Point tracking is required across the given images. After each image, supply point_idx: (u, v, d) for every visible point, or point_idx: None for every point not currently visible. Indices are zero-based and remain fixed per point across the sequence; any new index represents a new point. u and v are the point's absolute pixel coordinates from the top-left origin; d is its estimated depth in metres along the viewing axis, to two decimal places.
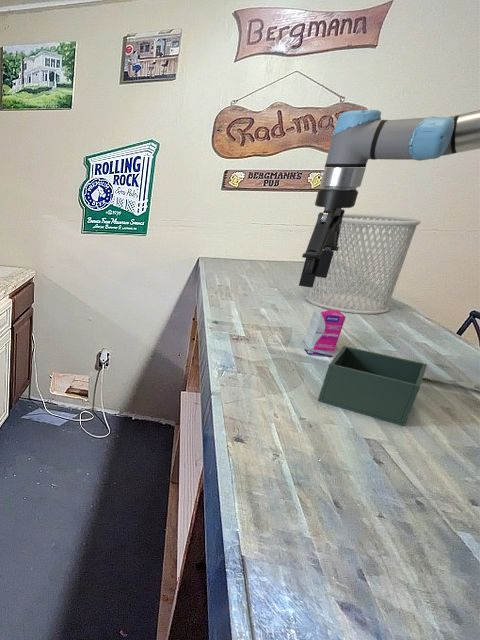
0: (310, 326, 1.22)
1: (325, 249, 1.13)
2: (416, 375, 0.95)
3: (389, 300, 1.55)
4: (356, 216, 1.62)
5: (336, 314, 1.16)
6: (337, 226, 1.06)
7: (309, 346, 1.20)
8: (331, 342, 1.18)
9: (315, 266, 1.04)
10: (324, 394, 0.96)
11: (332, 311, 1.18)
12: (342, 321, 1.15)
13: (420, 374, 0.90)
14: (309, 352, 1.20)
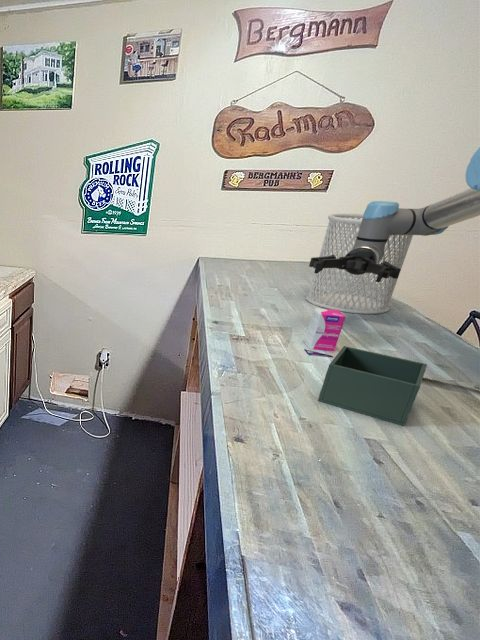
0: (310, 326, 1.22)
1: None
2: (416, 375, 0.95)
3: (389, 300, 1.55)
4: (356, 216, 1.62)
5: (336, 314, 1.16)
6: (366, 260, 1.27)
7: (309, 346, 1.20)
8: (331, 342, 1.18)
9: (320, 261, 1.27)
10: (324, 394, 0.96)
11: (332, 311, 1.18)
12: (342, 321, 1.15)
13: (420, 374, 0.90)
14: (309, 352, 1.20)
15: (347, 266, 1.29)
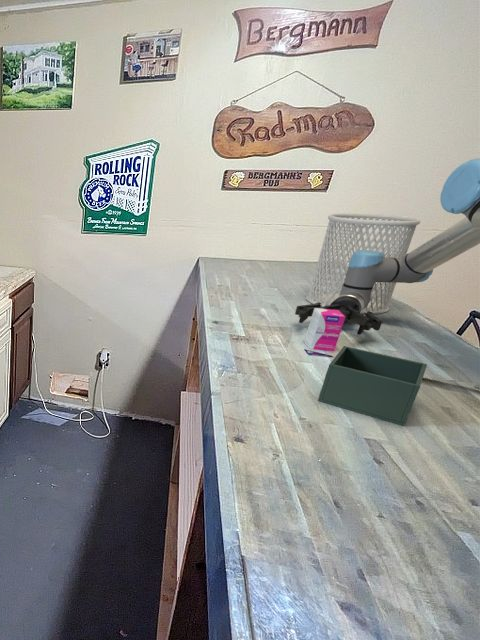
0: (310, 326, 1.22)
1: None
2: (416, 375, 0.95)
3: (389, 300, 1.55)
4: (356, 216, 1.62)
5: (336, 314, 1.16)
6: (350, 310, 1.31)
7: (309, 346, 1.20)
8: (331, 342, 1.18)
9: (305, 311, 1.32)
10: (324, 394, 0.96)
11: (332, 311, 1.18)
12: (342, 321, 1.15)
13: (420, 374, 0.90)
14: (309, 352, 1.20)
15: None
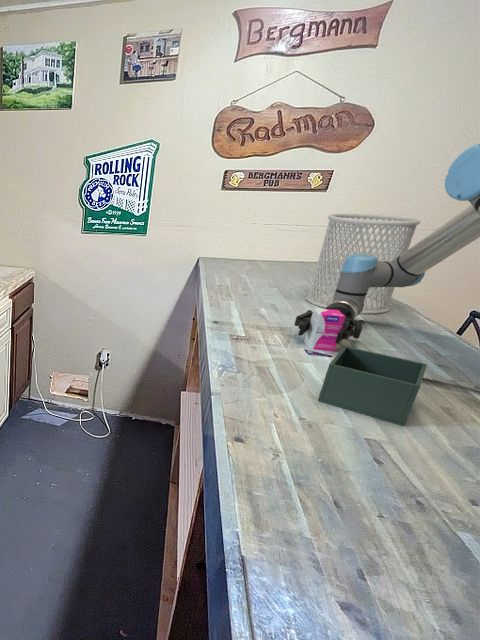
0: (310, 326, 1.22)
1: None
2: (416, 375, 0.95)
3: (389, 300, 1.55)
4: (356, 216, 1.62)
5: (336, 314, 1.16)
6: None
7: (309, 346, 1.20)
8: (331, 342, 1.18)
9: (305, 322, 1.22)
10: (324, 394, 0.96)
11: (332, 311, 1.18)
12: (342, 321, 1.15)
13: (420, 374, 0.90)
14: (309, 352, 1.20)
15: None
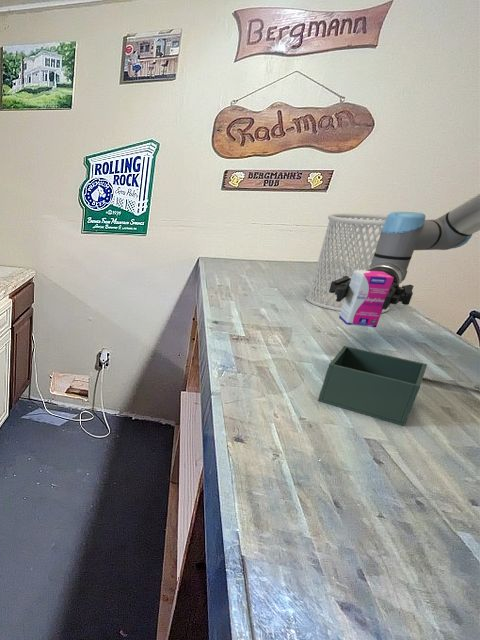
0: (349, 291, 1.03)
1: None
2: (416, 375, 0.95)
3: None
4: (356, 216, 1.62)
5: (382, 275, 0.98)
6: None
7: (348, 315, 1.02)
8: (375, 309, 0.99)
9: None
10: (324, 394, 0.96)
11: (377, 272, 1.00)
12: (390, 283, 0.97)
13: (420, 374, 0.90)
14: (348, 322, 1.02)
15: None
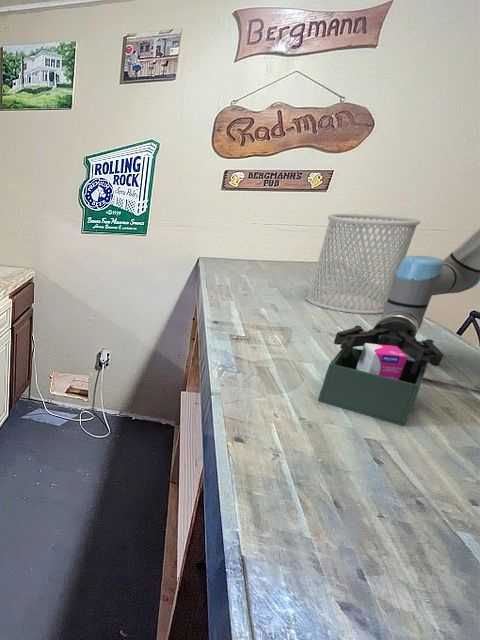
0: (359, 366, 0.96)
1: None
2: (416, 375, 0.95)
3: None
4: (356, 216, 1.62)
5: (395, 352, 0.91)
6: (402, 337, 0.98)
7: None
8: None
9: None
10: (324, 394, 0.96)
11: (389, 348, 0.93)
12: (403, 362, 0.90)
13: (420, 374, 0.90)
14: None
15: (378, 342, 1.00)
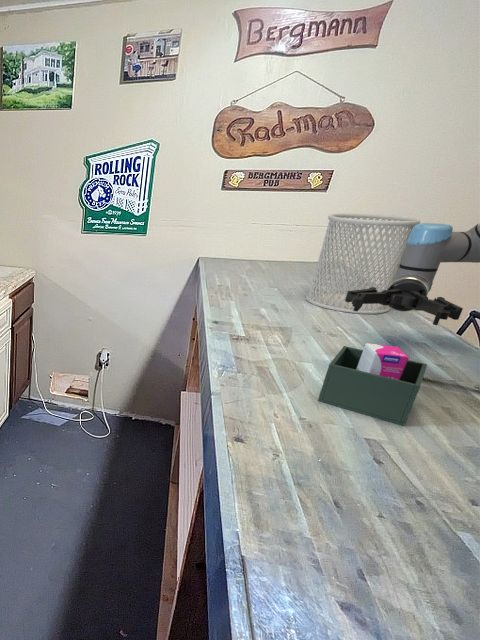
0: (360, 366, 0.96)
1: None
2: (416, 375, 0.95)
3: None
4: (356, 216, 1.62)
5: (396, 353, 0.91)
6: (416, 295, 1.05)
7: None
8: None
9: None
10: (324, 394, 0.96)
11: (390, 349, 0.93)
12: (404, 362, 0.90)
13: (420, 374, 0.90)
14: None
15: (392, 302, 1.08)
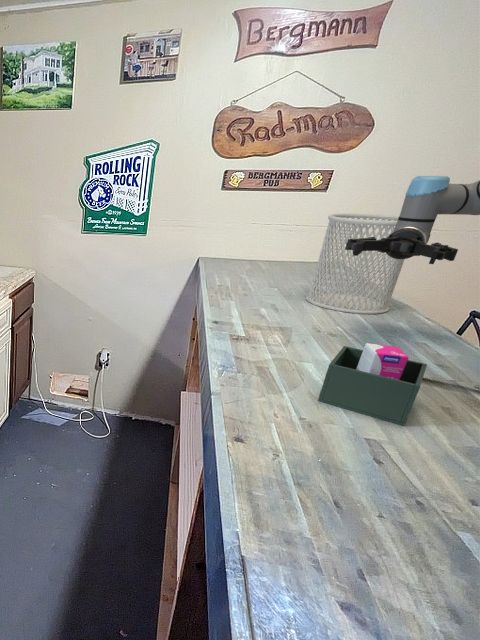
0: (360, 366, 0.96)
1: None
2: (416, 375, 0.95)
3: (389, 300, 1.55)
4: (356, 216, 1.62)
5: (396, 353, 0.91)
6: (414, 241, 1.09)
7: None
8: None
9: None
10: (324, 394, 0.96)
11: (390, 349, 0.93)
12: (404, 362, 0.90)
13: (420, 374, 0.90)
14: None
15: (390, 248, 1.12)
